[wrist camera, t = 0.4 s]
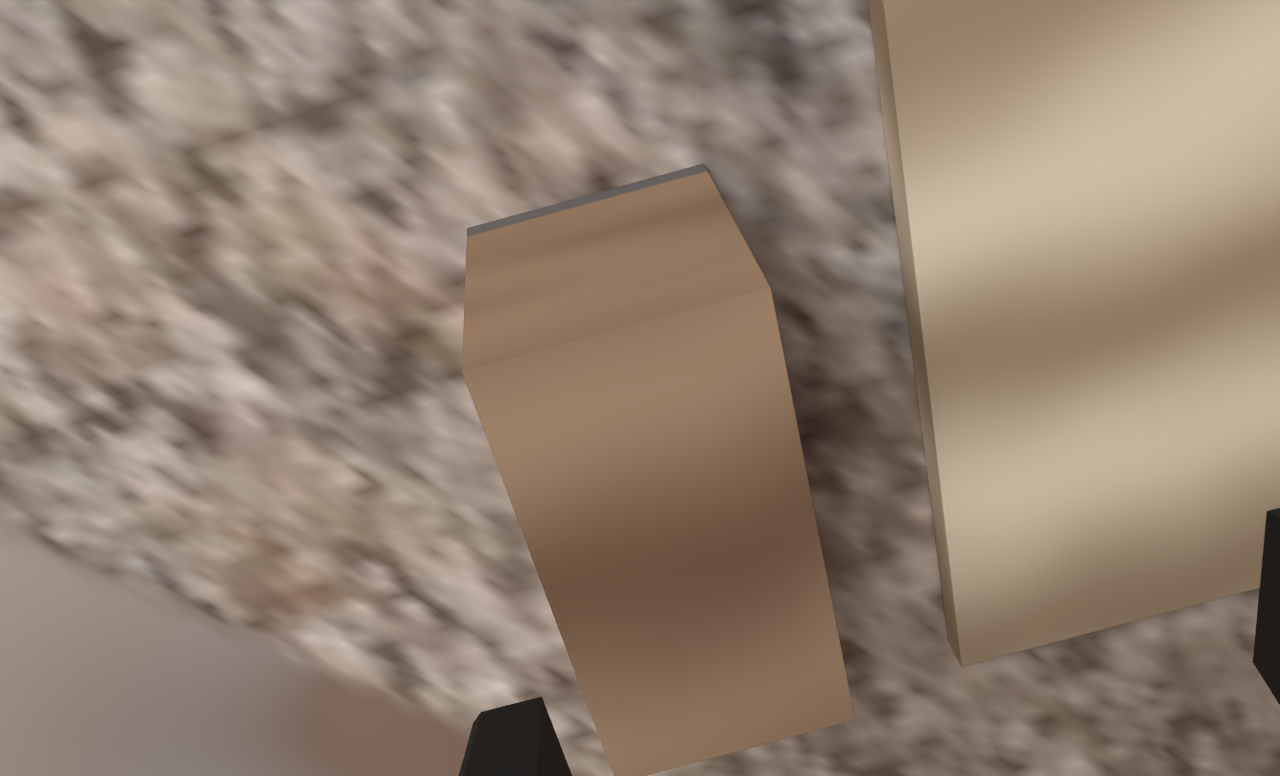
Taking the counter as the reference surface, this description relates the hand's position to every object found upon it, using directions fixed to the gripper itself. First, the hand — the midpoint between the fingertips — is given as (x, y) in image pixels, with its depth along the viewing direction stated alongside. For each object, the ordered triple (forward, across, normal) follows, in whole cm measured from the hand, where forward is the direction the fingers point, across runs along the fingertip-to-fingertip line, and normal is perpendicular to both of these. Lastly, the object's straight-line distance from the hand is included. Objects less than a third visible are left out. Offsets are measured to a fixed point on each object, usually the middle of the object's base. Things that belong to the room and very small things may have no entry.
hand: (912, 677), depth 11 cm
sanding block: (+10, +2, +2) cm, 10 cm away
